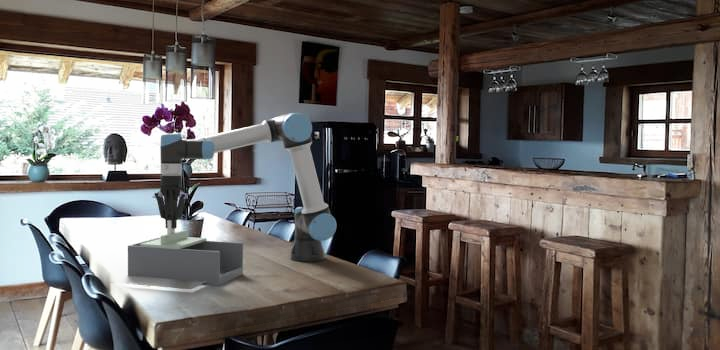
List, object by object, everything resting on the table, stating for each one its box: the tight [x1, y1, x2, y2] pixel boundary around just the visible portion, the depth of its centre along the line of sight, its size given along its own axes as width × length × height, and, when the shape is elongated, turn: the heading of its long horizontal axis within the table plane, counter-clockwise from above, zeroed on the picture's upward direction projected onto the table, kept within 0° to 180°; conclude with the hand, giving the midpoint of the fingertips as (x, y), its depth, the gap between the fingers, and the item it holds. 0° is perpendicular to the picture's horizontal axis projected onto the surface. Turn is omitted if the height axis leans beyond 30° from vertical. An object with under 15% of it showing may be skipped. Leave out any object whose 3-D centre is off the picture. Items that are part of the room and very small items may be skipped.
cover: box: [140, 229, 207, 249], centre depth 222 cm, size 16×20×4 cm
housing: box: [127, 237, 244, 287], centre depth 221 cm, size 37×20×12 cm, turn 76°
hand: (171, 237), depth 222 cm, fingers closed
